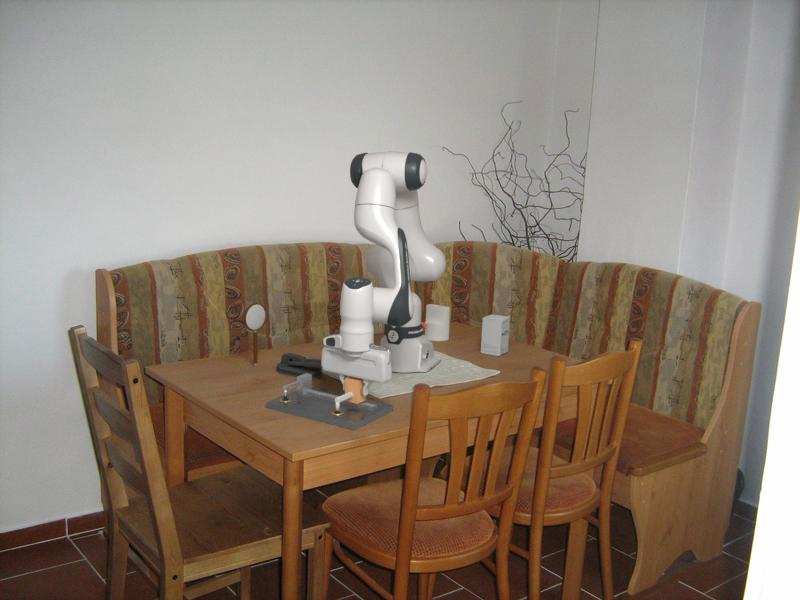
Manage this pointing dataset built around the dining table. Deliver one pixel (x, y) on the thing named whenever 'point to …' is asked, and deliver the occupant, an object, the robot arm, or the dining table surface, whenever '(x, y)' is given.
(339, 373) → the robot arm
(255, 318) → the magnifying glass
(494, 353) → the supplement box
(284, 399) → the plate
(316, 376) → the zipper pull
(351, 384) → the leg
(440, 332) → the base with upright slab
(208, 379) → the dining table surface
